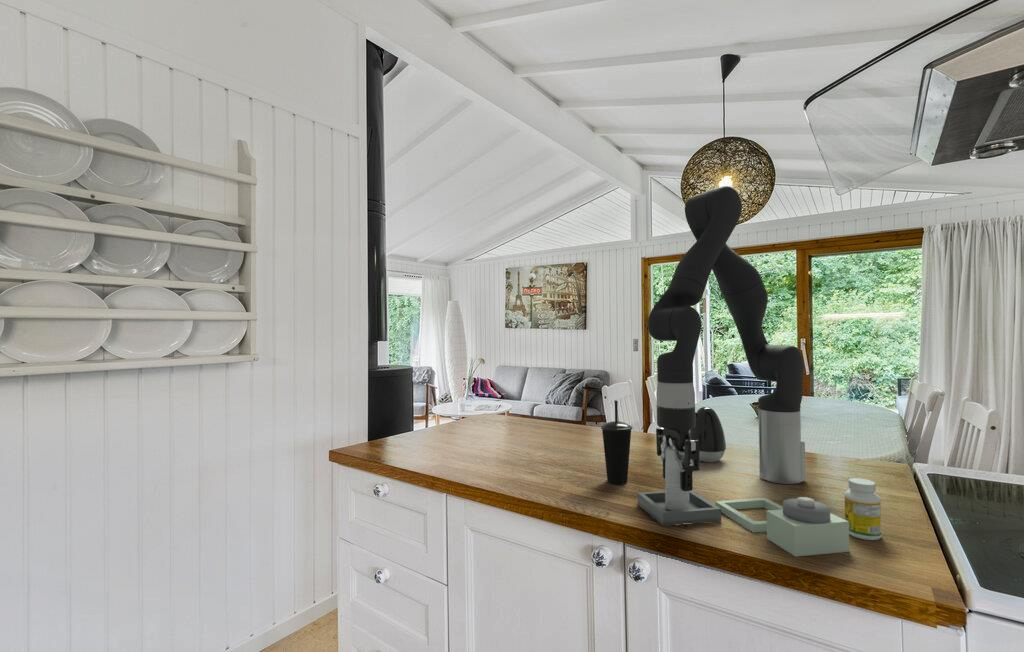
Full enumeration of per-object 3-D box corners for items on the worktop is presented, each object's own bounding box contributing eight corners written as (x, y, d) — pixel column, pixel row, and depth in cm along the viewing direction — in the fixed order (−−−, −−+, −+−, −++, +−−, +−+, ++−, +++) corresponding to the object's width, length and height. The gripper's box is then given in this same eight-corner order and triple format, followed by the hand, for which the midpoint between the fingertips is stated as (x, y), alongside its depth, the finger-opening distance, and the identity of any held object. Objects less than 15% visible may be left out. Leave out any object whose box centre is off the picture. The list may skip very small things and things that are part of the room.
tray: (689, 500, 107) (689, 489, 107) (721, 521, 95) (721, 508, 95) (637, 504, 105) (637, 492, 105) (663, 526, 93) (663, 513, 93)
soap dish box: (765, 504, 103) (764, 468, 104) (852, 551, 82) (851, 504, 82) (715, 508, 102) (714, 471, 102) (791, 556, 80) (790, 509, 80)
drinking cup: (627, 488, 116) (625, 403, 116) (597, 483, 120) (595, 401, 120) (637, 479, 122) (636, 399, 122) (608, 475, 126) (607, 398, 126)
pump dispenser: (683, 455, 145) (683, 404, 145) (720, 455, 144) (719, 404, 144) (691, 464, 135) (690, 409, 135) (731, 465, 134) (730, 409, 134)
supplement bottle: (880, 543, 84) (879, 488, 84) (843, 535, 88) (842, 482, 88) (882, 533, 88) (881, 480, 88) (846, 526, 92) (845, 475, 92)
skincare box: (668, 500, 104) (667, 443, 104) (690, 502, 102) (689, 444, 102) (664, 510, 98) (663, 449, 98) (688, 513, 96) (686, 451, 96)
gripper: (711, 408, 94) (713, 495, 93) (675, 398, 108) (677, 473, 108) (675, 410, 92) (676, 497, 92) (643, 399, 107) (645, 475, 106)
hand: (677, 484), depth 100 cm, fingers closed on skincare box, 7 cm apart
